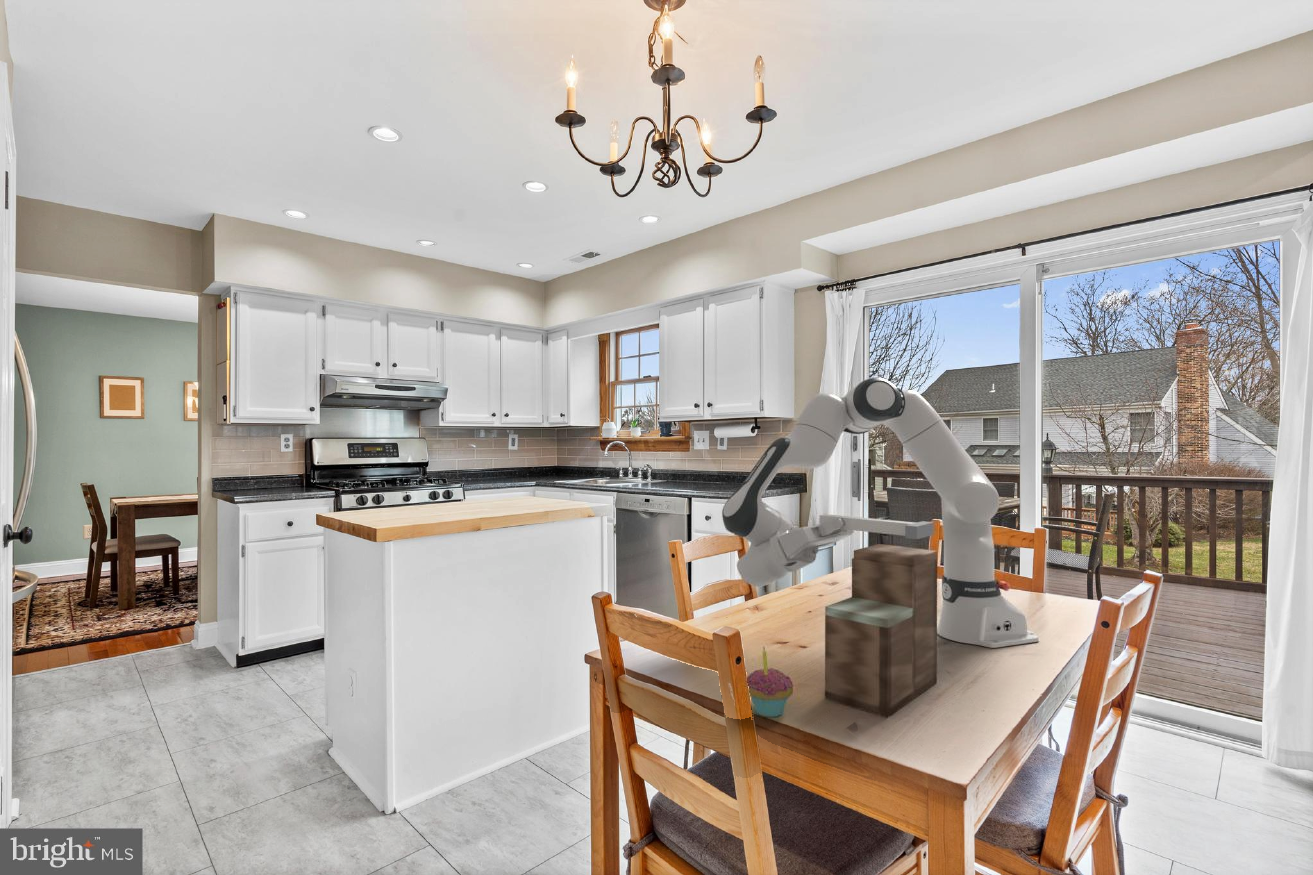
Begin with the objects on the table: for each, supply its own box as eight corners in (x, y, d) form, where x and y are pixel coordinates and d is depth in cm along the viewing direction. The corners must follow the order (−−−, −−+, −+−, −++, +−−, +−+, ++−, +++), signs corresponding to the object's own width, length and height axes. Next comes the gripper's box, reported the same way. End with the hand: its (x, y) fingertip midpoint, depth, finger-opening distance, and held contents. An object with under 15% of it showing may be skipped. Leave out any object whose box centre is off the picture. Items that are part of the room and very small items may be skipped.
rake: (812, 527, 138) (812, 516, 138) (831, 524, 144) (831, 513, 144) (916, 539, 123) (916, 526, 123) (933, 534, 129) (933, 522, 129)
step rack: (824, 698, 122) (825, 558, 122) (878, 668, 138) (878, 543, 138) (887, 717, 114) (887, 567, 114) (936, 683, 130) (937, 551, 130)
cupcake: (782, 725, 111) (782, 654, 111) (736, 714, 115) (736, 645, 115) (800, 707, 118) (800, 640, 118) (756, 697, 123) (756, 633, 122)
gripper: (827, 554, 152) (877, 529, 143) (777, 567, 137) (829, 540, 129) (815, 529, 154) (863, 502, 146) (764, 539, 139) (815, 511, 131)
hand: (847, 520), depth 137 cm, fingers closed on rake, 2 cm apart
